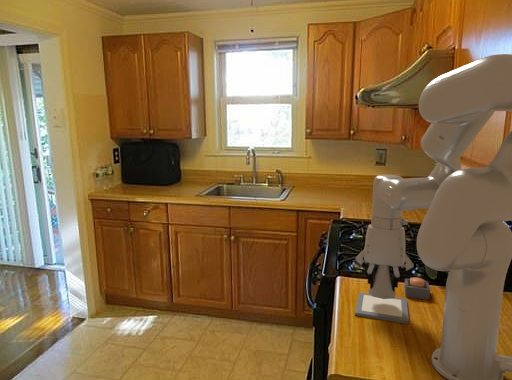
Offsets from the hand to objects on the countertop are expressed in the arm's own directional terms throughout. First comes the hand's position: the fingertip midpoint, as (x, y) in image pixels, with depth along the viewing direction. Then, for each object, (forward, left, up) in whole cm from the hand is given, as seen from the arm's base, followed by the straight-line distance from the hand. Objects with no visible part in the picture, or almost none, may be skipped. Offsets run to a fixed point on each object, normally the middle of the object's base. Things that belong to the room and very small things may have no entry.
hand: (382, 287), depth 101 cm
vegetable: (-15, -27, -6) cm, 31 cm away
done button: (-10, -13, -4) cm, 17 cm away
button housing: (-10, -13, -6) cm, 17 cm away
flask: (0, 0, -2) cm, 2 cm away
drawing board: (0, 0, -6) cm, 6 cm away
